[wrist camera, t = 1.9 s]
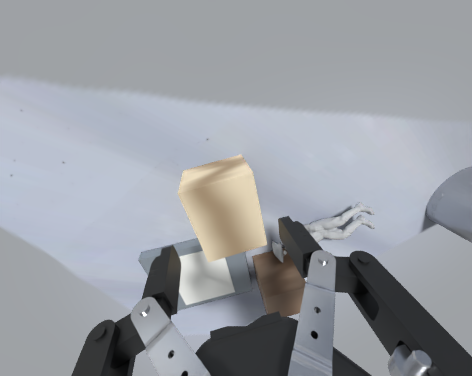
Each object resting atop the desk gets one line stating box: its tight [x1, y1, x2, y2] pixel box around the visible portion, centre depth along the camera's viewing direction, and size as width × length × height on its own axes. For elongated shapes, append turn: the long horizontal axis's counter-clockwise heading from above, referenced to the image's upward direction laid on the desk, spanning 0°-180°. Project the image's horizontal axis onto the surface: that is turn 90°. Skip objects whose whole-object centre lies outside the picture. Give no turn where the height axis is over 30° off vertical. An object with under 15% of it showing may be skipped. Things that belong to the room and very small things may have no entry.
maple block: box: [178, 155, 267, 262], centre depth 18 cm, size 6×8×5 cm
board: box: [138, 238, 252, 311], centre depth 24 cm, size 12×11×1 cm
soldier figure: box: [272, 202, 374, 263], centre depth 23 cm, size 8×5×12 cm
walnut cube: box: [252, 248, 306, 317], centre depth 24 cm, size 5×5×6 cm
